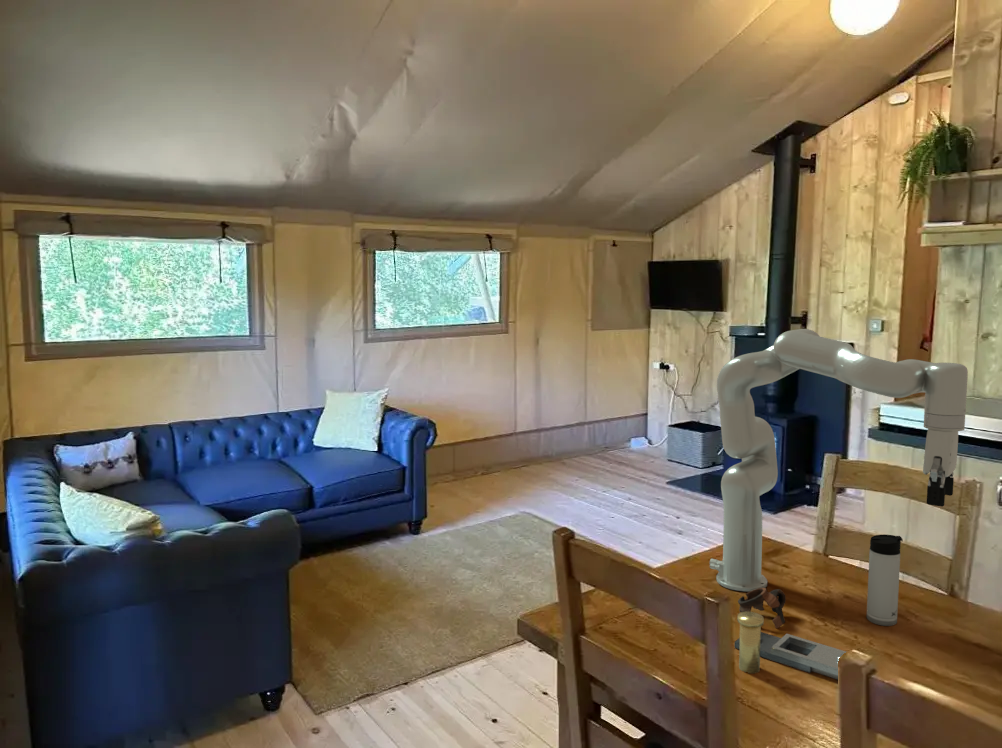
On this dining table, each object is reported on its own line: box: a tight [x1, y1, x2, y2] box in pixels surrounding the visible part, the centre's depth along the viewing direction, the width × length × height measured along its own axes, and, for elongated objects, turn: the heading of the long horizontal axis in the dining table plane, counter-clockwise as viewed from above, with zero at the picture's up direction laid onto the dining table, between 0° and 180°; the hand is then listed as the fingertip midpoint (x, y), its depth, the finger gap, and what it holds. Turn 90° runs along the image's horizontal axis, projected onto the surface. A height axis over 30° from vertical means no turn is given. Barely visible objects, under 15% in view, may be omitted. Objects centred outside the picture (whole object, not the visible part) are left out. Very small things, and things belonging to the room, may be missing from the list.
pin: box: [737, 611, 765, 674], centre depth 153 cm, size 5×5×11 cm
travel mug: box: [866, 534, 903, 627], centre depth 172 cm, size 6×7×20 cm
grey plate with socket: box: [734, 631, 847, 680], centre depth 157 cm, size 24×8×3 cm, turn 48°
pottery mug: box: [737, 587, 787, 629], centre depth 176 cm, size 12×10×8 cm
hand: (939, 499), depth 162 cm, fingers open, 9 cm apart
